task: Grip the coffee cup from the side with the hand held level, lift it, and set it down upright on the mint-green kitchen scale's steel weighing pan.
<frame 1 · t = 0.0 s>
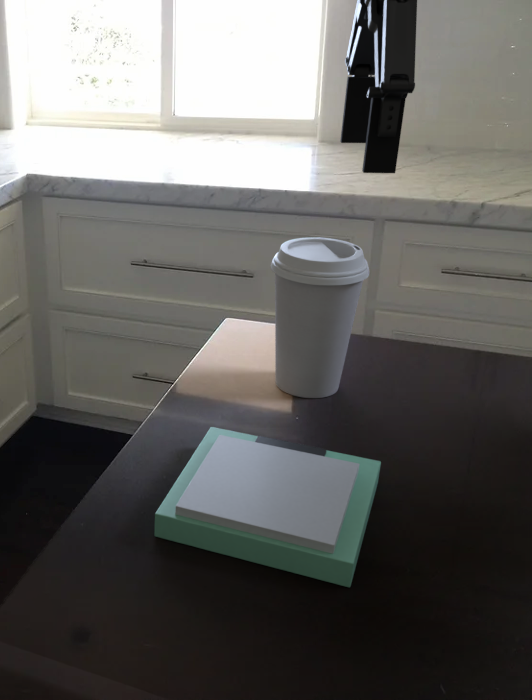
hand: (365, 156, 84), 24 cm above the table, tool pointing down, fingers open, 13 cm apart
kitchen scale: (270, 508, 72), on the table
coffee cup: (306, 385, 92), on the table
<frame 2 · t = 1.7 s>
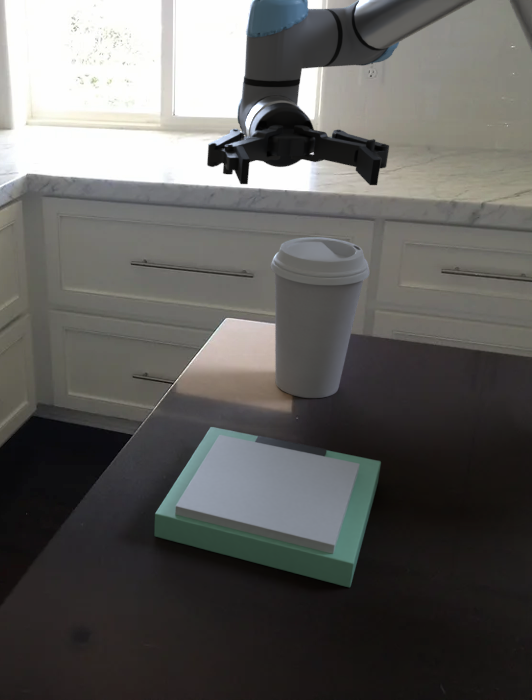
hand: (310, 172, 92), 21 cm above the table, tool horizontal, fingers open, 13 cm apart
nothing on the table moved.
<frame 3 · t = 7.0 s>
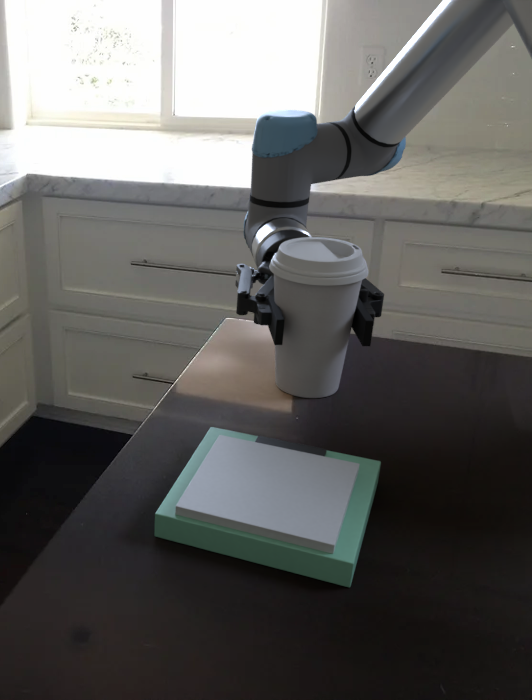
hand: (323, 332, 84), 8 cm above the table, tool horizontal, fingers closed on coffee cup, 8 cm apart
coffee cup: (306, 385, 92), on the table, touching gripper
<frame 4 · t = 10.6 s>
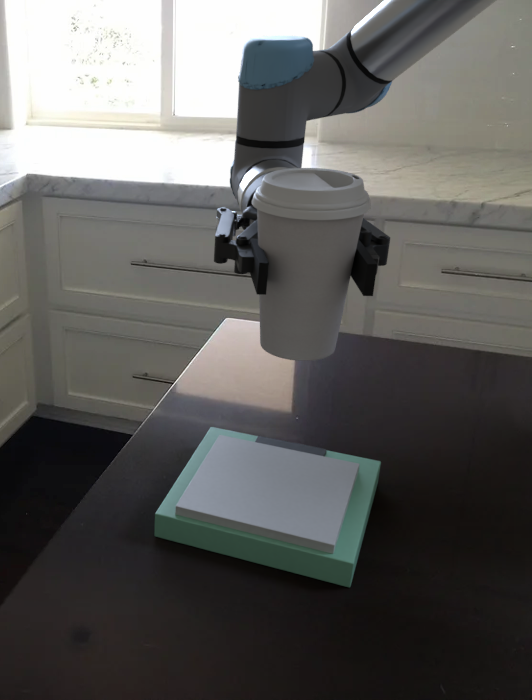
hand: (316, 279, 69), 18 cm above the table, tool horizontal, fingers closed on coffee cup, 8 cm apart
coffee cup: (297, 347, 77), point 10 cm above the table, touching gripper
when the fingers open (11 cm above the table, at t = 14.4 s): coffee cup stays where it is, resting on kitchen scale.
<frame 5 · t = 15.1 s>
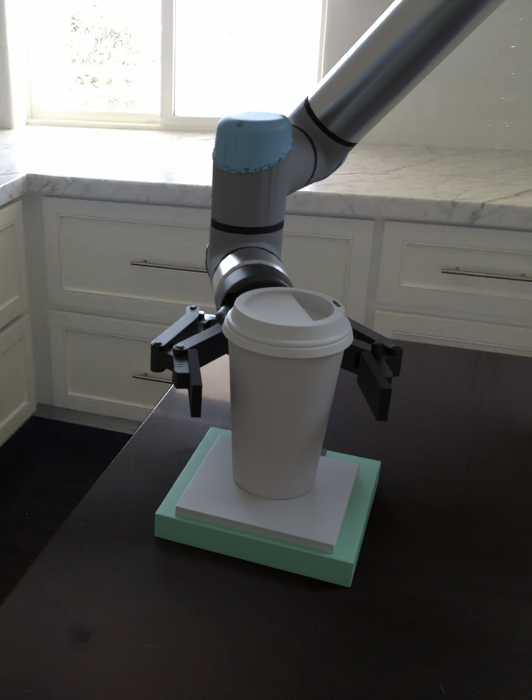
hand: (289, 403, 64), 12 cm above the table, tool horizontal, fingers open, 13 cm apart
coffee cup: (272, 479, 70), point 3 cm above the table, touching kitchen scale
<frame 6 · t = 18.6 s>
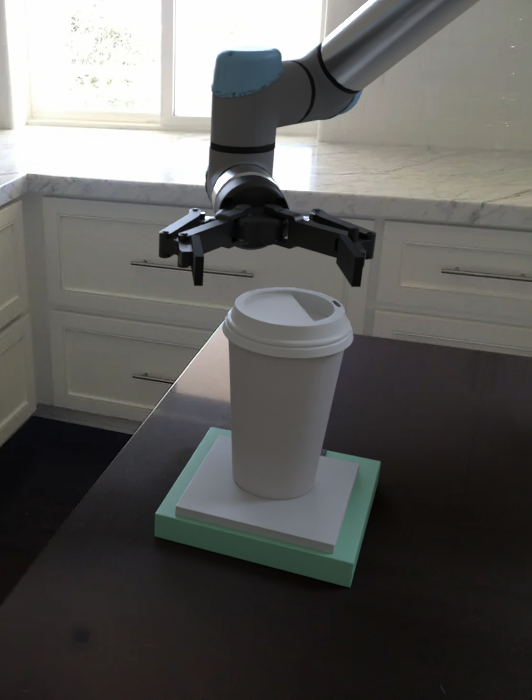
hand: (278, 272, 75), 17 cm above the table, tool horizontal, fingers open, 13 cm apart
nothing on the table moved.
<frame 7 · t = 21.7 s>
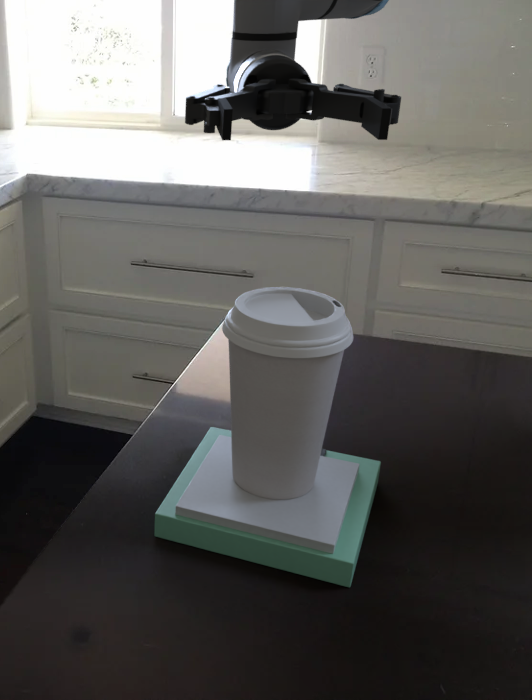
hand: (305, 124, 76), 28 cm above the table, tool horizontal, fingers open, 13 cm apart
nothing on the table moved.
at the end: coffee cup inside the target area on the kitchen scale (0.1 cm from its centre), point 2.8 cm above the kitchen scale's base; coffee cup tilted 0°; the gripper is holding nothing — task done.
